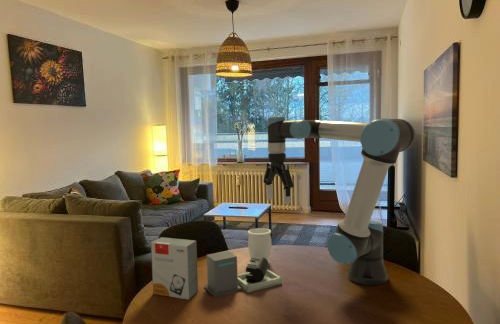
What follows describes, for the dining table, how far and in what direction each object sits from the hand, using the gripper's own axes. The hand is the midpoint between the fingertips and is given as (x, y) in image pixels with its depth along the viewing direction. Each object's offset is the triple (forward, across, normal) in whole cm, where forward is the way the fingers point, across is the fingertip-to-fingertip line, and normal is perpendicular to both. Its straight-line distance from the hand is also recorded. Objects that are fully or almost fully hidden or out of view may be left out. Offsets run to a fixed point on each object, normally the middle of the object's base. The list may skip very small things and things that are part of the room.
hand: (278, 201), depth 162 cm
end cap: (+27, -10, +17) cm, 34 cm away
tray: (+29, -11, +17) cm, 35 cm away
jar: (+29, +7, +6) cm, 30 cm away
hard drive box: (+29, -2, +48) cm, 56 cm away
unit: (+29, -8, +31) cm, 43 cm away
